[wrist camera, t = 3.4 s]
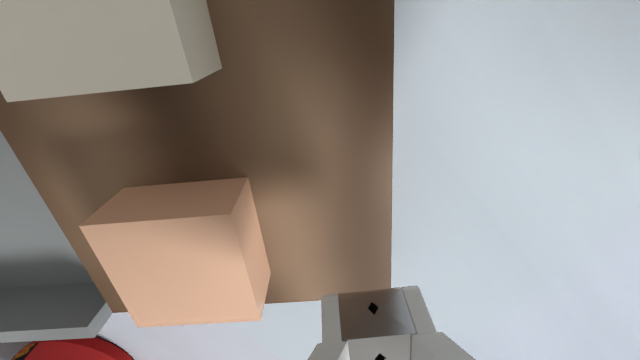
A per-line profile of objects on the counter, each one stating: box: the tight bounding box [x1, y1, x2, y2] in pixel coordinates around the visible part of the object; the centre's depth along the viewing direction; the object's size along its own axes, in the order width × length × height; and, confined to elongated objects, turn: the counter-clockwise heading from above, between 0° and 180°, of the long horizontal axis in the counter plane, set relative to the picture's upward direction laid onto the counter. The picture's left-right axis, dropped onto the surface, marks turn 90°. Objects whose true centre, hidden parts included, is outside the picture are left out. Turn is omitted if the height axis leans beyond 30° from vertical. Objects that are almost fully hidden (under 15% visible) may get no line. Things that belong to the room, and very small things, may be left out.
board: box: [0, 0, 394, 313], centre depth 12 cm, size 14×18×2 cm
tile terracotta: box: [79, 177, 271, 327], centre depth 12 cm, size 5×5×2 cm
